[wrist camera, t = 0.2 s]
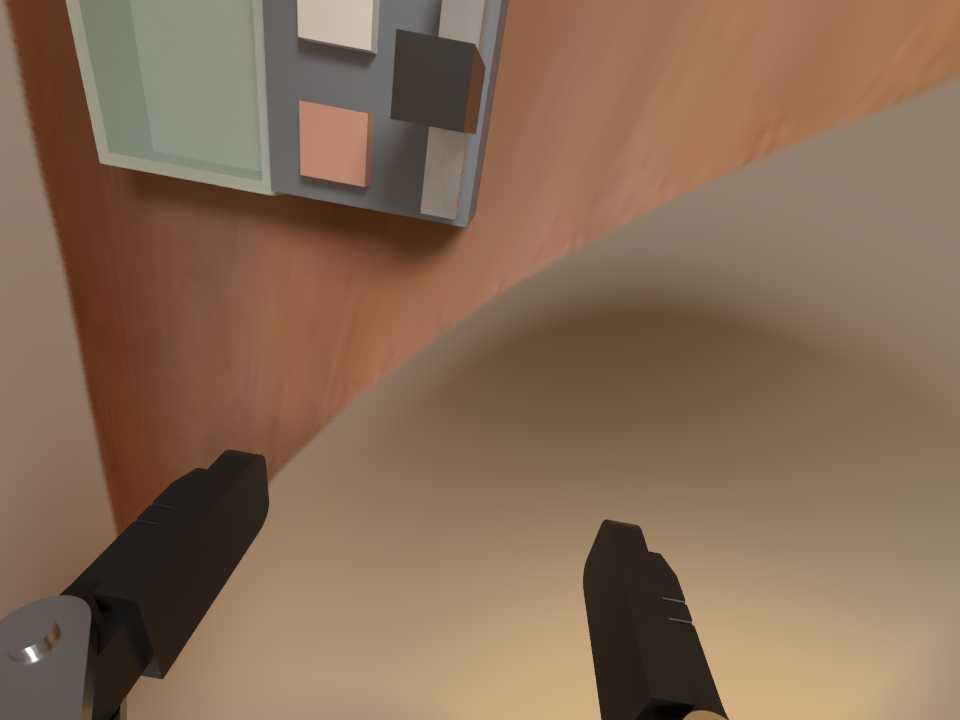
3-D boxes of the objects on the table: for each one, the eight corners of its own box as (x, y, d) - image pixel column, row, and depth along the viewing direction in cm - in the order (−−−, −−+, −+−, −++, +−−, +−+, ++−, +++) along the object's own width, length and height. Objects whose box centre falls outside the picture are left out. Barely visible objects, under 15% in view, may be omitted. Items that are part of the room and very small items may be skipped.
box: (113, -101, 27) (34, -147, 23) (303, -64, 27) (261, -104, 23) (154, 160, 34) (99, 163, 30) (306, 188, 34) (274, 196, 30)
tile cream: (306, -51, 23) (296, -60, 22) (381, -37, 23) (374, -45, 22) (307, 41, 25) (297, 36, 24) (376, 54, 25) (370, 50, 24)
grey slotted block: (308, -53, 28) (257, -99, 22) (510, -14, 28) (509, -50, 22) (310, 182, 34) (271, 190, 29) (475, 213, 34) (467, 227, 29)
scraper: (448, -36, 23) (406, -139, 14) (505, -25, 23) (497, -122, 14) (423, 203, 28) (382, 231, 20) (469, 212, 28) (448, 243, 20)
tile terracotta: (308, 101, 26) (299, 100, 25) (373, 114, 26) (367, 113, 25) (308, 173, 28) (300, 174, 27) (370, 185, 28) (364, 186, 27)
